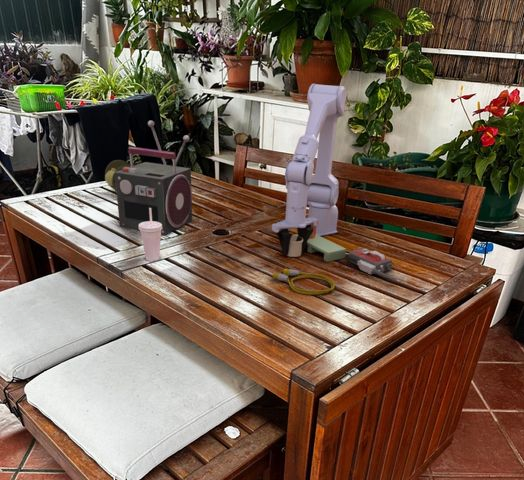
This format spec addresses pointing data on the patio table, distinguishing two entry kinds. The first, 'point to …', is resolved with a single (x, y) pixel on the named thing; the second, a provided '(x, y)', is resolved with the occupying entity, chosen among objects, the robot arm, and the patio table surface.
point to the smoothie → (151, 238)
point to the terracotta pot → (313, 231)
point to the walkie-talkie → (370, 262)
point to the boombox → (154, 190)
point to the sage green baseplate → (325, 248)
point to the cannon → (113, 168)
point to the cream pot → (295, 246)
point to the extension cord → (295, 272)
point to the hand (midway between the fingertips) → (292, 252)
